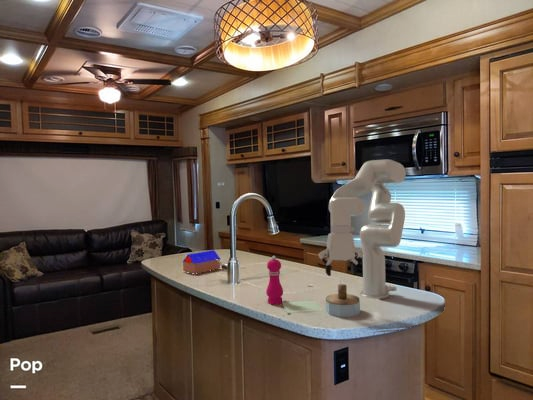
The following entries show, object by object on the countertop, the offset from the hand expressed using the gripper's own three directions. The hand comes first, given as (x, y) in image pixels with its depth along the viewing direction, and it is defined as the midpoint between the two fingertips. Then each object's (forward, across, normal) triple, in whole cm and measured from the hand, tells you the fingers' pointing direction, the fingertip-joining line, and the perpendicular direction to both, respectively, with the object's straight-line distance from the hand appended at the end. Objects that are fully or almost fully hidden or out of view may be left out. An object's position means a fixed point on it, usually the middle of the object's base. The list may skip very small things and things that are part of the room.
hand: (341, 274), depth 148 cm
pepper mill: (+15, +23, -20) cm, 34 cm away
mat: (+15, +13, -11) cm, 23 cm away
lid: (+10, -1, -1) cm, 10 cm away
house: (+15, +58, -97) cm, 114 cm away
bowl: (+15, -1, -1) cm, 15 cm away
